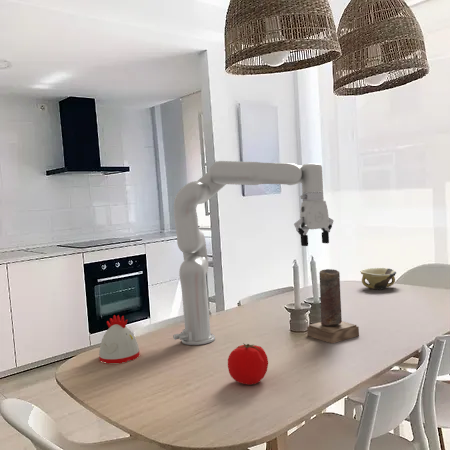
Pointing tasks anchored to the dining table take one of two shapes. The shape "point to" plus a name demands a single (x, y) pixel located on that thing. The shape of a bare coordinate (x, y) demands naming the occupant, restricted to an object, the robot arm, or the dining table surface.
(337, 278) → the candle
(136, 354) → the kitchen timer
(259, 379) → the tomato
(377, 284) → the bowl
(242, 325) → the dining table surface
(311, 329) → the plinth
